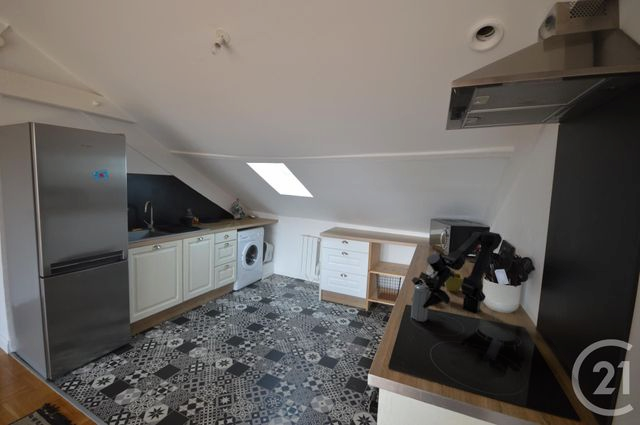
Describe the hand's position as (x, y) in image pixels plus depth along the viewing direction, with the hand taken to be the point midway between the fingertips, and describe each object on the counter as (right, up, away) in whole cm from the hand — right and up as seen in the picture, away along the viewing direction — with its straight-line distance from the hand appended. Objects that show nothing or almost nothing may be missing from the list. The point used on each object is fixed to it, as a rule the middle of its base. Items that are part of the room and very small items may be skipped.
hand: (417, 303), depth 123 cm
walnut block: (+13, -5, +20) cm, 24 cm away
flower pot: (+32, -5, +37) cm, 50 cm away
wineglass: (+18, -5, +30) cm, 35 cm away
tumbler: (+1, -7, +1) cm, 7 cm away
